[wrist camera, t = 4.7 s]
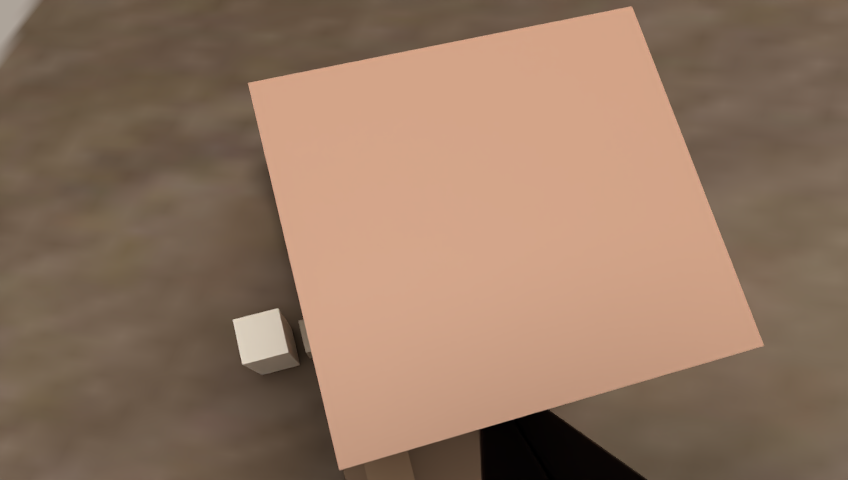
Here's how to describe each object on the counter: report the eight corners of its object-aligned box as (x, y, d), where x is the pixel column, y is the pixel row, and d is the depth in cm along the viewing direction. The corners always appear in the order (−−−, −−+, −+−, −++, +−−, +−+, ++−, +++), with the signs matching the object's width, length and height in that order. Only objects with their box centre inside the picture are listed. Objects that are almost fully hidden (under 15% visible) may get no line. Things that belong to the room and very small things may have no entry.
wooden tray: (630, 718, 17) (683, 775, 14) (413, 800, 16) (425, 877, 13) (448, 122, 20) (462, 75, 18) (263, 162, 19) (248, 119, 17)
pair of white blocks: (549, 298, 19) (586, 274, 16) (262, 375, 18) (242, 364, 15) (538, 264, 19) (572, 234, 16) (254, 337, 18) (232, 319, 15)
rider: (528, 391, 17) (764, 345, 7) (349, 443, 16) (338, 470, 6) (481, 236, 18) (631, 6, 8) (310, 278, 17) (248, 83, 7)
